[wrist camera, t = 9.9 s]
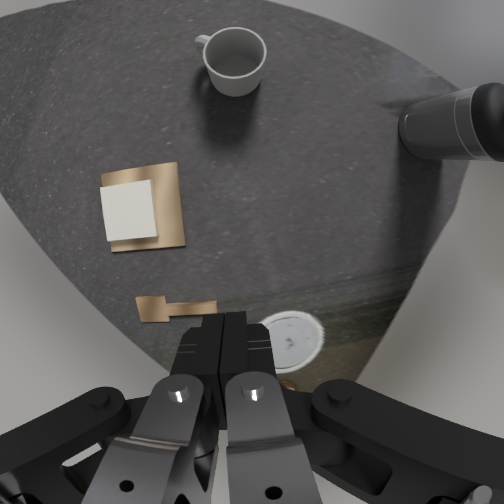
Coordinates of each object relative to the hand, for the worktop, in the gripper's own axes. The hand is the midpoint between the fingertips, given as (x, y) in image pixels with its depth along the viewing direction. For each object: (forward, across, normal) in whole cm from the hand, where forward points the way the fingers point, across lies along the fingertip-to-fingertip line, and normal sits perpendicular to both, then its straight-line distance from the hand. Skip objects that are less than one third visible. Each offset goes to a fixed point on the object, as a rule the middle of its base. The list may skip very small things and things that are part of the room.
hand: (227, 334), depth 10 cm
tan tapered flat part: (+32, +11, +14) cm, 37 cm away
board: (+32, +14, -2) cm, 35 cm away
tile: (+31, +12, -2) cm, 33 cm away
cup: (+32, 0, -21) cm, 38 cm away
